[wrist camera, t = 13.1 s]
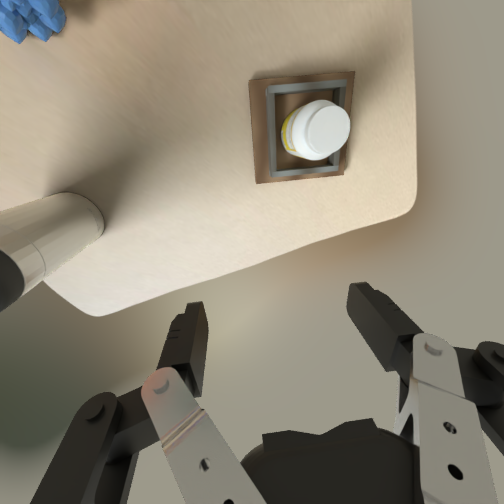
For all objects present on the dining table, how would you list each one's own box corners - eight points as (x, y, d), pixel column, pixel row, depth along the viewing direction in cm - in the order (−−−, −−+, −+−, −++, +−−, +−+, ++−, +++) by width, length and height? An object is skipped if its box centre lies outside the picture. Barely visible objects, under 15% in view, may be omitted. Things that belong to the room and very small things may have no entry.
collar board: (255, 182, 38) (258, 186, 35) (248, 82, 31) (250, 75, 28) (339, 173, 39) (350, 177, 35) (349, 74, 32) (364, 66, 29)
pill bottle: (327, 139, 34) (367, 139, 24) (292, 164, 36) (316, 175, 26) (308, 97, 32) (345, 78, 21) (271, 126, 33) (289, 121, 23)
